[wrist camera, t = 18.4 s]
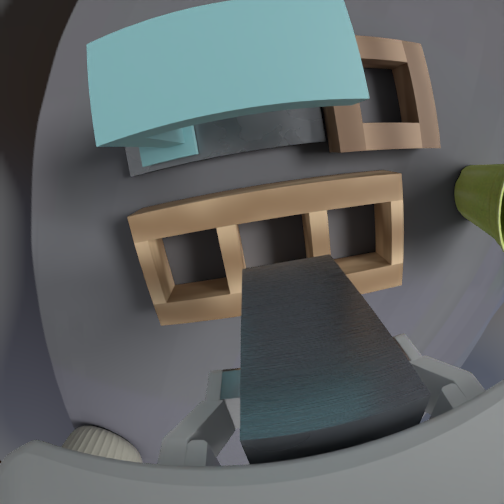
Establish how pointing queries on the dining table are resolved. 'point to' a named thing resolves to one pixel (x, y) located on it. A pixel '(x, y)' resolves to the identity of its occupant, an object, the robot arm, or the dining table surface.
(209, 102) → the plate
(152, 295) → the rack
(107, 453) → the canister
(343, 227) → the dining table surface
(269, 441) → the grey rectangular block
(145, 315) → the dining table surface
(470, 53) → the dining table surface
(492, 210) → the plant pot
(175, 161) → the socket frame
